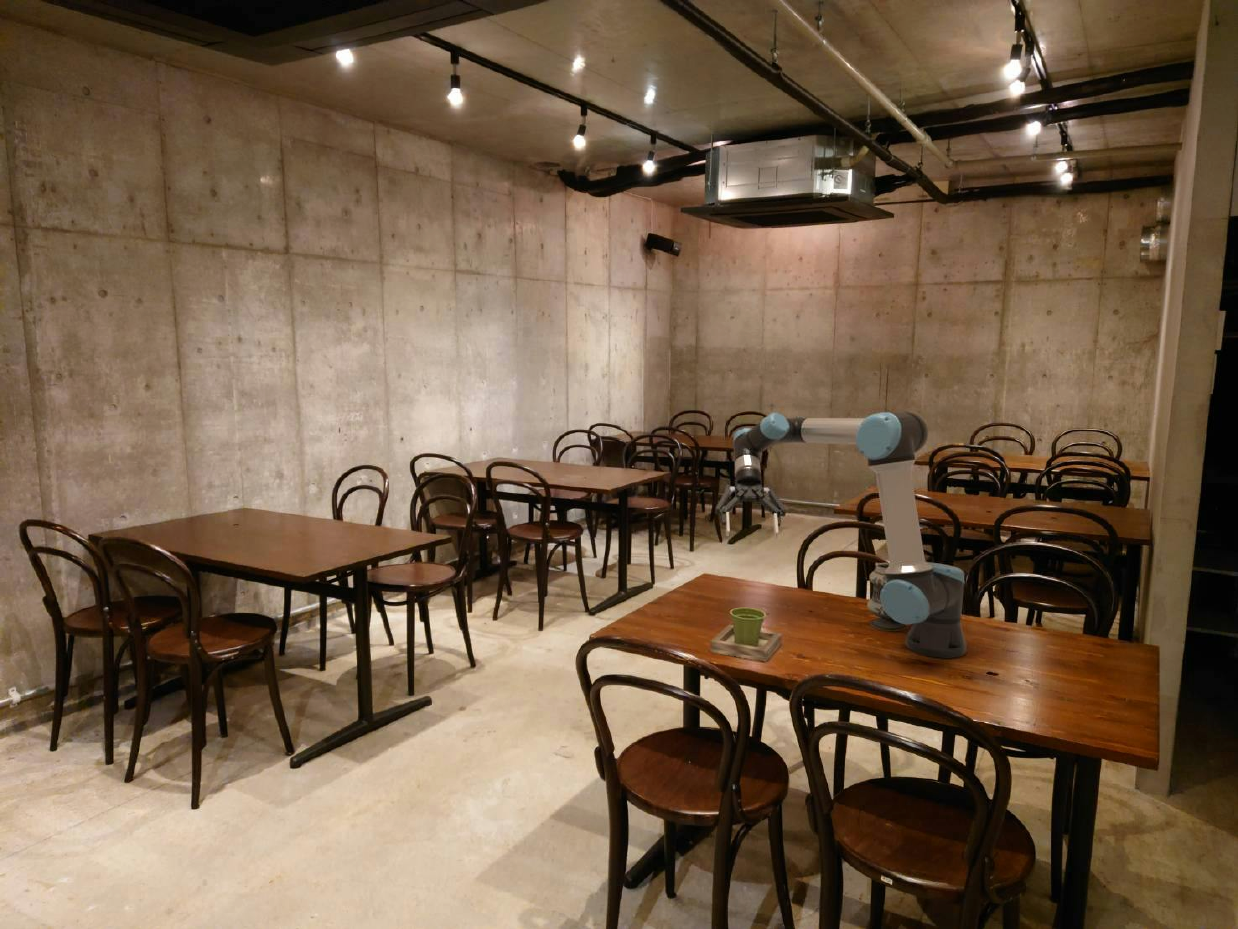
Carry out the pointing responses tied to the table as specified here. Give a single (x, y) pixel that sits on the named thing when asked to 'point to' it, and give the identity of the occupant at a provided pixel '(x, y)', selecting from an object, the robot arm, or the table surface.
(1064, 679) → the table surface
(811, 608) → the table surface
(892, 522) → the robot arm
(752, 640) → the plant pot
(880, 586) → the apothecary jar
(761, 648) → the wooden tray
